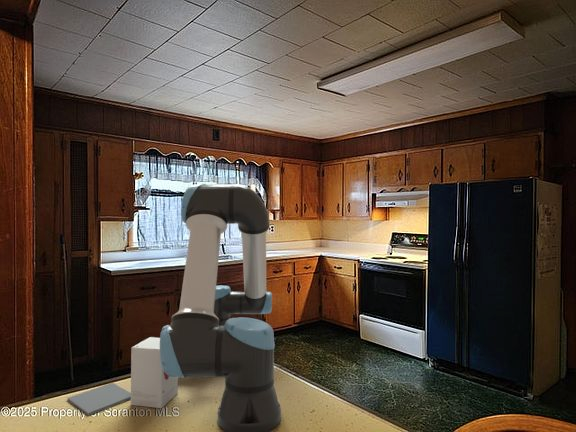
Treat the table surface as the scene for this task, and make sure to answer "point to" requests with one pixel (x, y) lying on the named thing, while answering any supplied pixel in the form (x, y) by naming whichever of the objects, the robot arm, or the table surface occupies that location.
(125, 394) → the mat
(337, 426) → the table surface
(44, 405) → the table surface
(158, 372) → the supplement box
